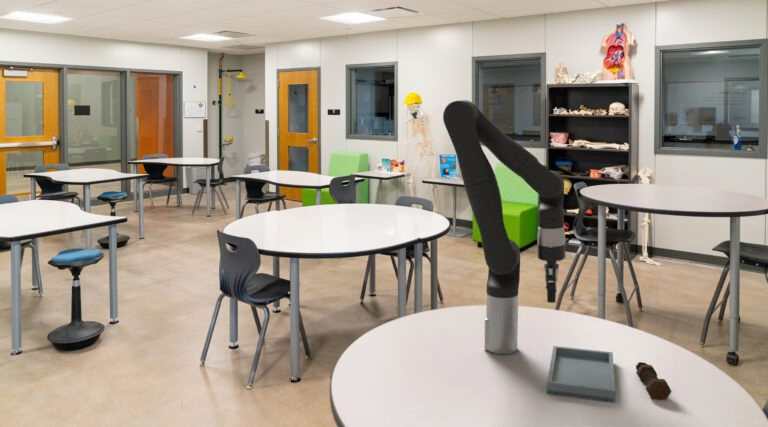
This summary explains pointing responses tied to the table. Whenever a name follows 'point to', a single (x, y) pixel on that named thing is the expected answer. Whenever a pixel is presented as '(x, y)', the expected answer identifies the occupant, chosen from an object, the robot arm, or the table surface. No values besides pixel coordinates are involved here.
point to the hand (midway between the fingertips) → (552, 297)
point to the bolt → (653, 382)
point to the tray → (581, 374)
